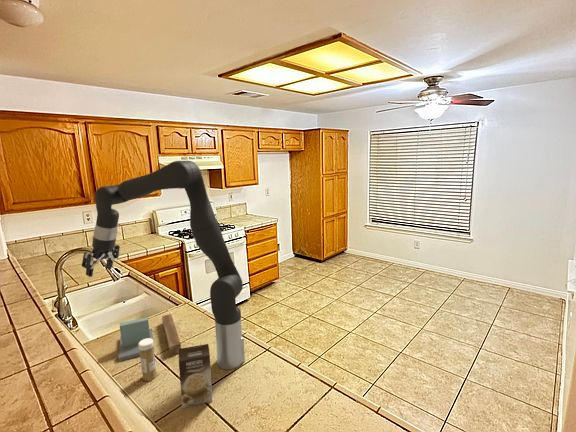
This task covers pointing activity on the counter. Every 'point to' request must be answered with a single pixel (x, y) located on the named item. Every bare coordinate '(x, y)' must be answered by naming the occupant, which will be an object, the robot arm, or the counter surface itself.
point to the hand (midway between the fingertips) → (99, 272)
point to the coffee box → (195, 375)
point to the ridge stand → (133, 337)
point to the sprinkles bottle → (147, 359)
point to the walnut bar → (171, 334)
